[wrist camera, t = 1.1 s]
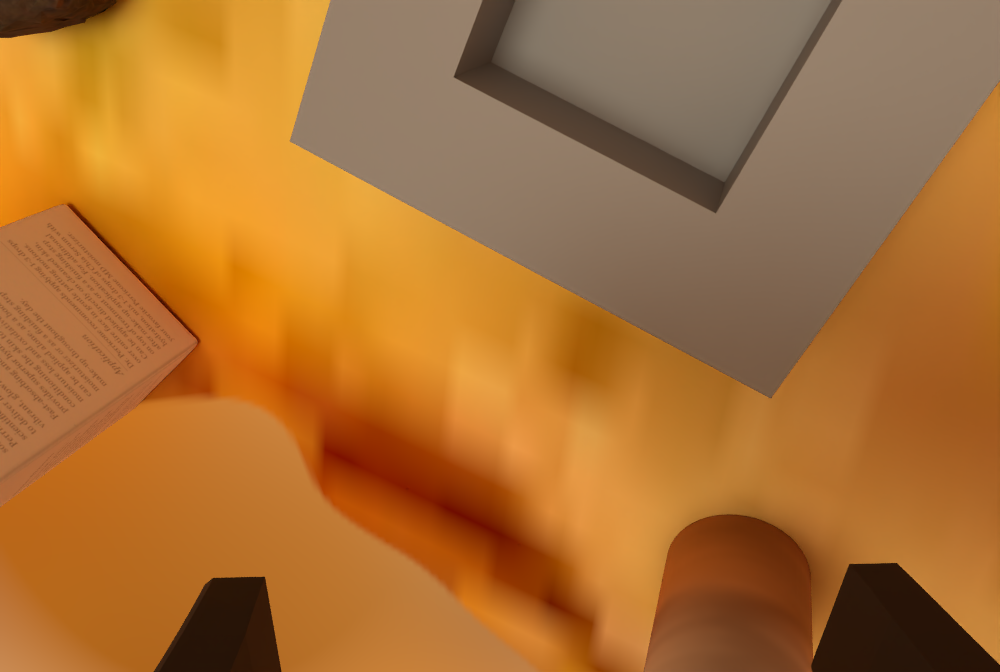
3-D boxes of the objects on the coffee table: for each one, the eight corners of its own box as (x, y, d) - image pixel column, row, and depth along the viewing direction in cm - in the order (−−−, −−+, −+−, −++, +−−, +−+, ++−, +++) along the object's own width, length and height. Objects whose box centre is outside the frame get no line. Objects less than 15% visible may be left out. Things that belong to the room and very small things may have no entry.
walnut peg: (840, 562, 23) (853, 740, 18) (762, 649, 25) (754, 833, 20) (709, 490, 24) (685, 645, 18) (642, 582, 26) (604, 746, 20)
